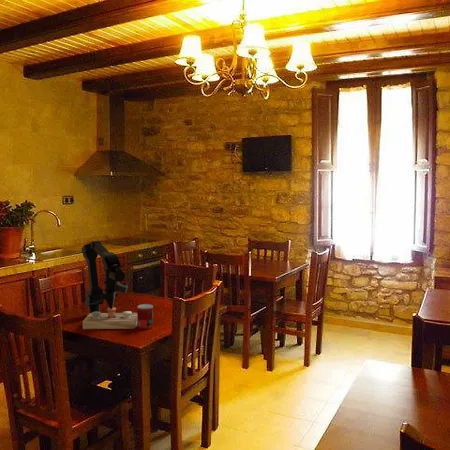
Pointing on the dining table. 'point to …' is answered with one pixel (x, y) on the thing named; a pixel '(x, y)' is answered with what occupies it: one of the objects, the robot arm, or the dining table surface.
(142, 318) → the canned food
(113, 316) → the terracotta plug
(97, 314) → the grey plug
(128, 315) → the cream plug
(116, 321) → the beech block
